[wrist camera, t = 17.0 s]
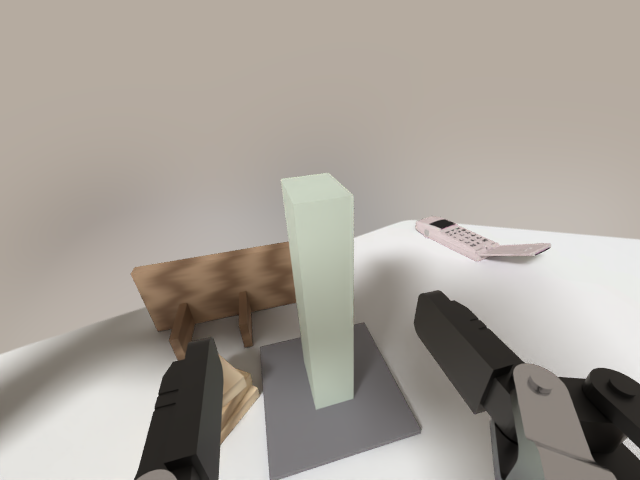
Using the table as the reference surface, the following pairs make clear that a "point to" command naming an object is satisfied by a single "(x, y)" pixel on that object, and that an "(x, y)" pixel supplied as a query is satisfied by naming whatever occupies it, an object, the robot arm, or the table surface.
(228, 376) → the offcut stack
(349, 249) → the sage green pillar
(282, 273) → the walnut rack
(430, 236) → the mobile phone
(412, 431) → the charcoal mat
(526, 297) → the table surface
